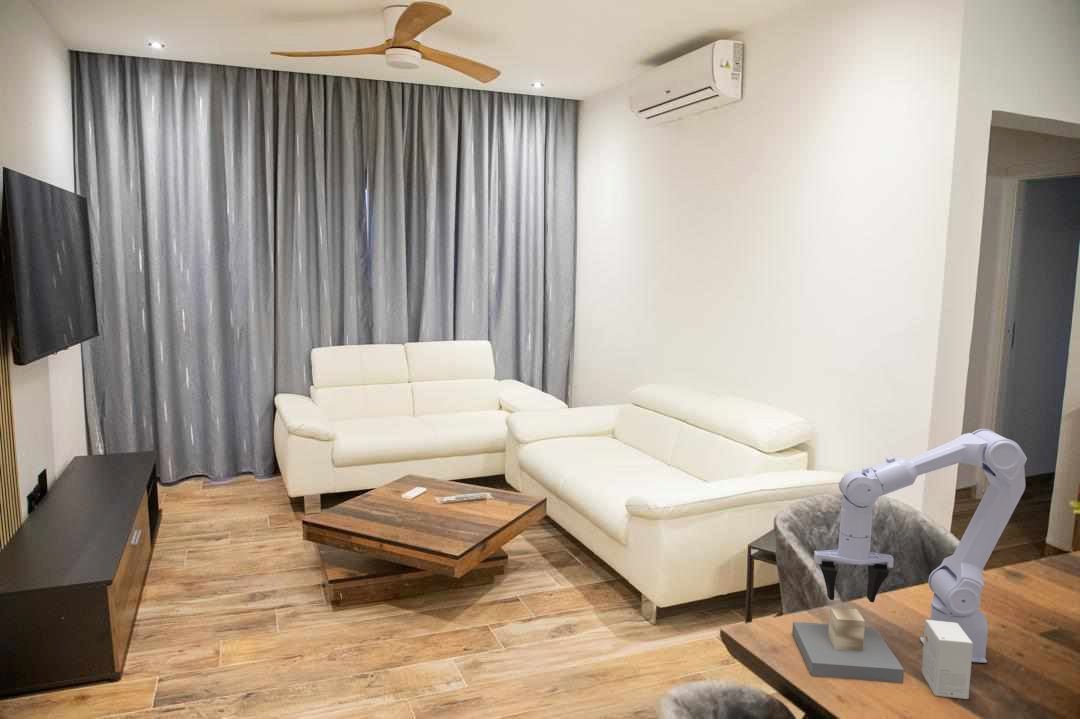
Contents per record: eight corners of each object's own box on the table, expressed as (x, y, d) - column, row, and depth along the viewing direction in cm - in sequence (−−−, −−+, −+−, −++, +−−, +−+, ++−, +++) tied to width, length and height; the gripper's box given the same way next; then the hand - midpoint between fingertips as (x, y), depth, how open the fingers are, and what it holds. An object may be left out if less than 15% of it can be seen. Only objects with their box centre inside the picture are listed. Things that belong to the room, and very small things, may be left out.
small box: (968, 700, 130) (974, 643, 128) (933, 696, 131) (939, 639, 130) (953, 676, 138) (958, 621, 136) (920, 672, 139) (925, 618, 137)
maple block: (854, 638, 146) (856, 608, 145) (862, 651, 141) (864, 621, 140) (827, 636, 146) (830, 607, 146) (835, 649, 141) (837, 619, 141)
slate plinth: (873, 639, 151) (874, 627, 150) (903, 682, 135) (904, 669, 135) (792, 633, 152) (793, 621, 152) (811, 675, 137) (812, 662, 136)
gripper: (886, 527, 150) (881, 592, 151) (811, 524, 151) (807, 588, 153) (899, 540, 143) (894, 608, 144) (821, 536, 144) (816, 603, 146)
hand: (850, 599), depth 148 cm, fingers open, 7 cm apart
